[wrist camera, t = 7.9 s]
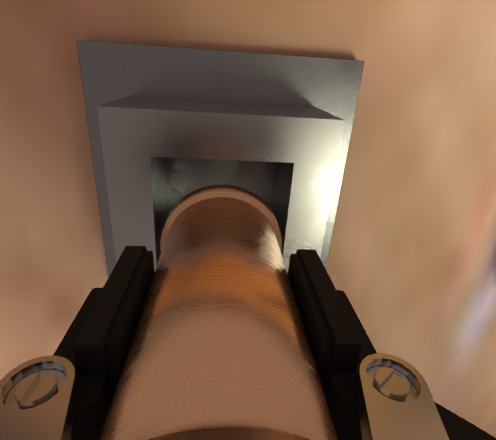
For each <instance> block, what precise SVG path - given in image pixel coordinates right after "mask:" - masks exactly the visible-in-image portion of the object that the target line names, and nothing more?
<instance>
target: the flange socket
mask: <svg viewBox="0 0 496 440" xmlns="http://www.w3.org/2000/svg"><path fill="white" fill-rule="evenodd" d="M77 46H78V53H79V61H80V68H81V75H82V83H83V90H84V98H85V105H86V112H87V120H88V127H89V135H90V142H91V149H92V157H93V164H94V172H95V179H96V187H97V194H98V201H99V209H100V216H101V224H102V231H103V238H104V246H105V253H106V261H107V268H108V275H109V276H110V274H111V272H112V271H113V269H114V267H115V265H116V263H117V261H118V259H119V258H120V256H121V254H122V252H123V250H124V248H125V247H126V246H146V249H147V251H153V259H154V273H155V270H156V267H157V264H158V261H159V258H160V255H161V248H160V244H161V235H162V231H163V228H164V226H165V223H166V220H167V217H168V215H169V214H170V212H171V210H172V209H173V207H174V206H175V205H176V204H177V203H178V201H179V200H180V199H182V198H183V197H184V196H186V195H187V194H189V193H190V192H192V191H194V190H197V189H199V188H202V187H205V186H210V185H219V184H225V185H233V186H238V187H241V188H244V189H247V190H249V191H251V192H253V193H254V194H256V195H257V196H259V197H260V198H261V199H262V200H263V201H264V202H266V204H267V205H268V206H269V207H270V209H271V210H272V212H273V214H274V216H275V218H276V220H277V223H278V226H279V229H280V233H281V238H282V251H281V254H282V257H283V261H284V264H285V267H286V270H287V274H288V268H289V261H290V255H291V254H296V252H297V250H298V249H313V250H316V251H317V253H318V255H319V257H320V259H321V261H322V263H323V265H324V267H325V268H326V263H327V258H328V252H329V247H330V242H331V236H332V231H333V226H334V220H335V215H336V210H337V205H338V199H339V194H340V189H341V183H342V178H343V173H344V167H345V162H346V157H347V151H348V146H349V141H350V136H351V130H352V125H353V120H354V114H355V109H356V104H357V98H358V93H359V88H360V82H361V77H362V72H363V67H364V61H359V60H345V59H331V58H317V57H303V56H289V55H276V54H262V53H248V52H234V51H220V50H206V49H193V48H179V47H165V46H151V45H137V44H123V43H110V42H96V41H82V40H77Z"/></svg>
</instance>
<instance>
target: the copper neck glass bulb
mask: <svg viewBox="0 0 496 440" xmlns="http://www.w3.org/2000/svg"><path fill="white" fill-rule="evenodd" d="M160 248H161V255H160V258H159V261H158V264H157V267H156V270H155V273H154V276H153V279H152V282H151V285H150V288H149V291H148V294H147V297H146V300H145V303H144V306H143V309H142V312H141V315H140V318H139V321H138V324H137V327H136V330H135V333H134V336H133V339H132V342H131V345H130V348H129V351H128V355H127V358H126V361H125V364H124V367H123V370H122V373H121V376H120V379H119V382H118V385H117V388H116V391H115V394H114V397H113V400H112V403H111V406H110V409H109V412H108V415H107V418H106V421H105V424H104V427H103V430H102V433H101V436H100V439H99V440H338V437H337V434H336V430H335V427H334V424H333V421H332V417H331V414H330V411H329V408H328V404H327V401H326V398H325V394H324V391H323V388H322V385H321V381H320V378H319V375H318V372H317V368H316V365H315V362H314V359H313V355H312V352H311V349H310V345H309V342H308V339H307V336H306V332H305V329H304V326H303V323H302V319H301V316H300V313H299V310H298V306H297V303H296V300H295V296H294V293H293V290H292V287H291V283H290V280H289V277H288V274H287V270H286V267H285V264H284V261H283V257H282V254H281V251H282V238H281V233H280V229H279V226H278V223H277V220H276V218H275V216H274V214H273V212H272V210H271V209H270V207H269V206H268V205H267V204H266V202H264V201H263V200H262V199H261V198H260V197H259V196H257V195H256V194H254V193H253V192H251V191H249V190H247V189H244V188H241V187H238V186H233V185H225V184H219V185H210V186H205V187H202V188H199V189H197V190H194V191H192V192H190V193H189V194H187V195H186V196H184V197H183V198H182V199H180V200H179V201H178V203H177V204H176V205H175V206H174V207H173V209H172V210H171V212H170V214H169V215H168V217H167V220H166V223H165V226H164V228H163V231H162V235H161V244H160Z"/></svg>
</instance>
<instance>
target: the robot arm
mask: <svg viewBox="0 0 496 440" xmlns="http://www.w3.org/2000/svg"><path fill="white" fill-rule="evenodd" d="M153 276H154V259H153V251H147V249H146V246H126V247H125V248H124V250H123V252H122V254H121V256H120V258H119V259H118V261H117V263H116V265H115V267H114V269H113V271H112V272H111V274H110V276H109V278H108V280H107V282H106V284H105V285H104V287H103V288H94V289H92V291H91V292H90V293H89V295H88V297H87V299H86V300H85V302H84V304H83V305H82V307H81V309H80V311H79V312H78V314H77V316H76V317H75V319H74V321H73V322H72V324H71V326H70V328H69V329H68V331H67V333H66V334H65V336H64V338H63V340H62V341H61V343H60V345H59V346H58V348H57V350H56V352H55V353H54V355H53V356H43V357H39V358H35V359H31V360H29V361H27V362H25V363H22V364H20V365H19V366H17V367H16V368H14V369H13V370H11V371H10V372H9V373H7V374H6V375H5V376H4V377H3V378H2V379H1V380H0V440H99V439H100V436H101V433H102V430H103V427H104V424H105V421H106V418H107V415H108V412H109V409H110V406H111V403H112V400H113V397H114V394H115V391H116V388H117V385H118V382H119V379H120V376H121V373H122V370H123V367H124V364H125V361H126V358H127V355H128V351H129V348H130V345H131V342H132V339H133V336H134V333H135V330H136V327H137V324H138V321H139V318H140V315H141V312H142V309H143V306H144V303H145V300H146V297H147V294H148V291H149V288H150V285H151V282H152V279H153ZM288 277H289V280H290V283H291V287H292V290H293V293H294V296H295V300H296V303H297V306H298V310H299V313H300V316H301V319H302V323H303V326H304V329H305V332H306V336H307V339H308V342H309V345H310V349H311V352H312V355H313V359H314V362H315V365H316V368H317V372H318V375H319V378H320V381H321V385H322V388H323V391H324V394H325V398H326V401H327V404H328V408H329V411H330V414H331V417H332V421H333V424H334V427H335V430H336V434H337V437H338V440H496V438H495V437H493V436H491V435H490V434H488V433H486V432H485V431H483V430H481V429H480V428H478V427H476V426H474V425H473V424H471V423H469V422H468V421H466V420H464V419H463V418H461V417H459V416H458V415H456V414H454V413H452V412H451V411H449V410H447V409H446V408H444V407H442V406H441V405H439V404H437V403H435V402H434V400H433V398H432V395H431V393H430V390H429V388H428V385H427V383H426V382H425V380H424V378H423V376H422V375H421V374H420V373H419V372H418V371H417V370H416V369H415V368H414V367H413V366H412V365H410V364H409V363H407V362H406V361H404V360H402V359H400V358H398V357H396V356H392V355H389V354H380V353H377V352H376V350H375V349H374V347H373V345H372V343H371V341H370V339H369V337H368V335H367V334H366V332H365V330H364V328H363V326H362V324H361V322H360V320H359V319H358V317H357V315H356V313H355V311H354V309H353V307H352V305H351V303H350V302H349V300H348V298H347V296H346V294H345V293H344V292H343V291H341V290H336V289H335V287H334V285H333V283H332V281H331V279H330V277H329V275H328V273H327V271H326V269H325V267H324V265H323V263H322V261H321V259H320V257H319V255H318V253H317V251H316V250H313V249H298V250H297V252H296V254H291V255H290V261H289V268H288Z"/></svg>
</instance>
